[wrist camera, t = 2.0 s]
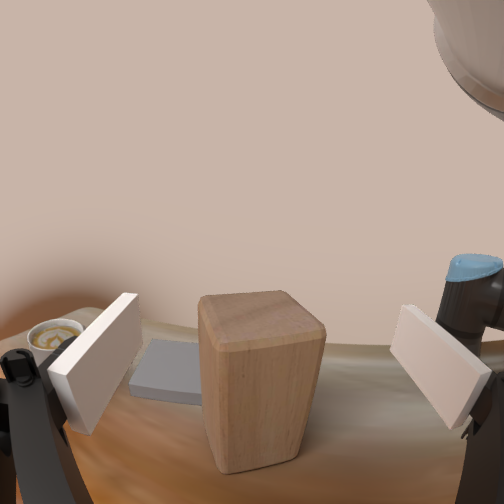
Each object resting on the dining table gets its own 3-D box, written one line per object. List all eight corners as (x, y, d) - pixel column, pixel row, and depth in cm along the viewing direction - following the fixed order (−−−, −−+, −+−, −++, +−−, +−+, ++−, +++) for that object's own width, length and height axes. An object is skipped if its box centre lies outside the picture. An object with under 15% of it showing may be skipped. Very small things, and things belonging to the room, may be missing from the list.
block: (202, 422, 34) (196, 292, 29) (270, 411, 37) (284, 286, 32) (219, 478, 24) (215, 342, 20) (298, 460, 28) (333, 326, 23)
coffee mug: (74, 411, 30) (53, 358, 28) (35, 387, 32) (16, 337, 29) (118, 368, 43) (108, 318, 41) (79, 353, 45) (68, 306, 42)
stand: (225, 356, 51) (225, 345, 50) (220, 406, 37) (220, 395, 37) (153, 349, 50) (152, 338, 50) (131, 395, 37) (128, 383, 36)
